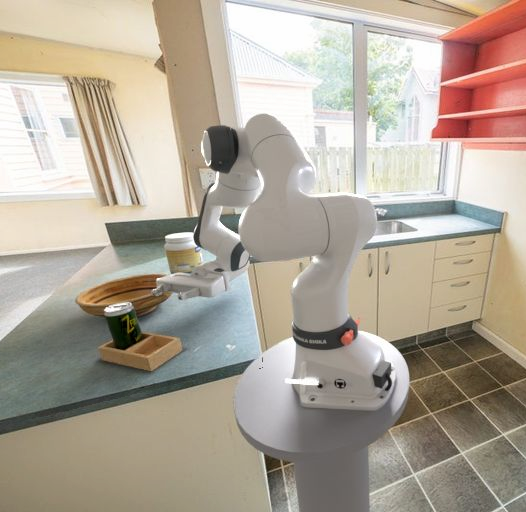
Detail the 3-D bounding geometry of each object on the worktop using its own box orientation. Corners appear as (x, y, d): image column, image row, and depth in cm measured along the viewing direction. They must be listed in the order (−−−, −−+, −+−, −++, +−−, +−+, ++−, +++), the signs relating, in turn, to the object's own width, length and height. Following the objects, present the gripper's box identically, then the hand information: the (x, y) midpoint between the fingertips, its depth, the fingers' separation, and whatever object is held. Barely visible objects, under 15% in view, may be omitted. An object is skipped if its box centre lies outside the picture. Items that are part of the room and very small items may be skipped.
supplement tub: (208, 274, 125) (200, 235, 120) (173, 281, 117) (164, 240, 112) (201, 266, 133) (194, 230, 128) (169, 273, 126) (159, 234, 120)
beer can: (111, 357, 71) (96, 313, 67) (127, 344, 76) (114, 302, 72) (136, 355, 72) (122, 311, 68) (150, 342, 77) (138, 301, 73)
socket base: (182, 350, 75) (179, 338, 74) (151, 371, 68) (147, 358, 66) (136, 341, 79) (133, 329, 78) (102, 360, 71) (97, 347, 70)
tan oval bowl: (60, 319, 89) (51, 295, 87) (146, 288, 111) (141, 268, 108) (120, 340, 79) (111, 314, 76) (202, 301, 100) (198, 280, 98)
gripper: (178, 265, 96) (135, 281, 83) (231, 271, 91) (193, 289, 78) (183, 283, 98) (140, 301, 85) (234, 289, 93) (198, 310, 80)
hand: (166, 295), depth 82 cm, fingers open, 8 cm apart
